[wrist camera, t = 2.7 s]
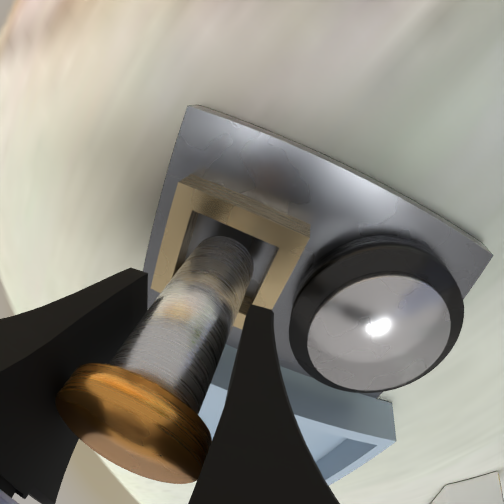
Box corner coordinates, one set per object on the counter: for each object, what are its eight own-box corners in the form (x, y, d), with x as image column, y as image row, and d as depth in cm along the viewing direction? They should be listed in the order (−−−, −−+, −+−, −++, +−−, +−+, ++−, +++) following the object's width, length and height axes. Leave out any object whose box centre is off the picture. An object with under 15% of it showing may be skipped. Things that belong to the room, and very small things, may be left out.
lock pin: (281, 246, 12) (222, 451, 5) (248, 313, 13) (184, 494, 6) (194, 208, 12) (46, 362, 5) (173, 279, 13) (64, 434, 6)
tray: (392, 403, 17) (396, 441, 15) (307, 470, 23) (303, 499, 20) (170, 319, 17) (147, 354, 15) (145, 413, 23) (131, 440, 20)
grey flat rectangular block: (486, 245, 12) (516, 279, 9) (378, 384, 17) (382, 426, 14) (198, 104, 12) (165, 107, 9) (146, 290, 17) (119, 325, 14)
